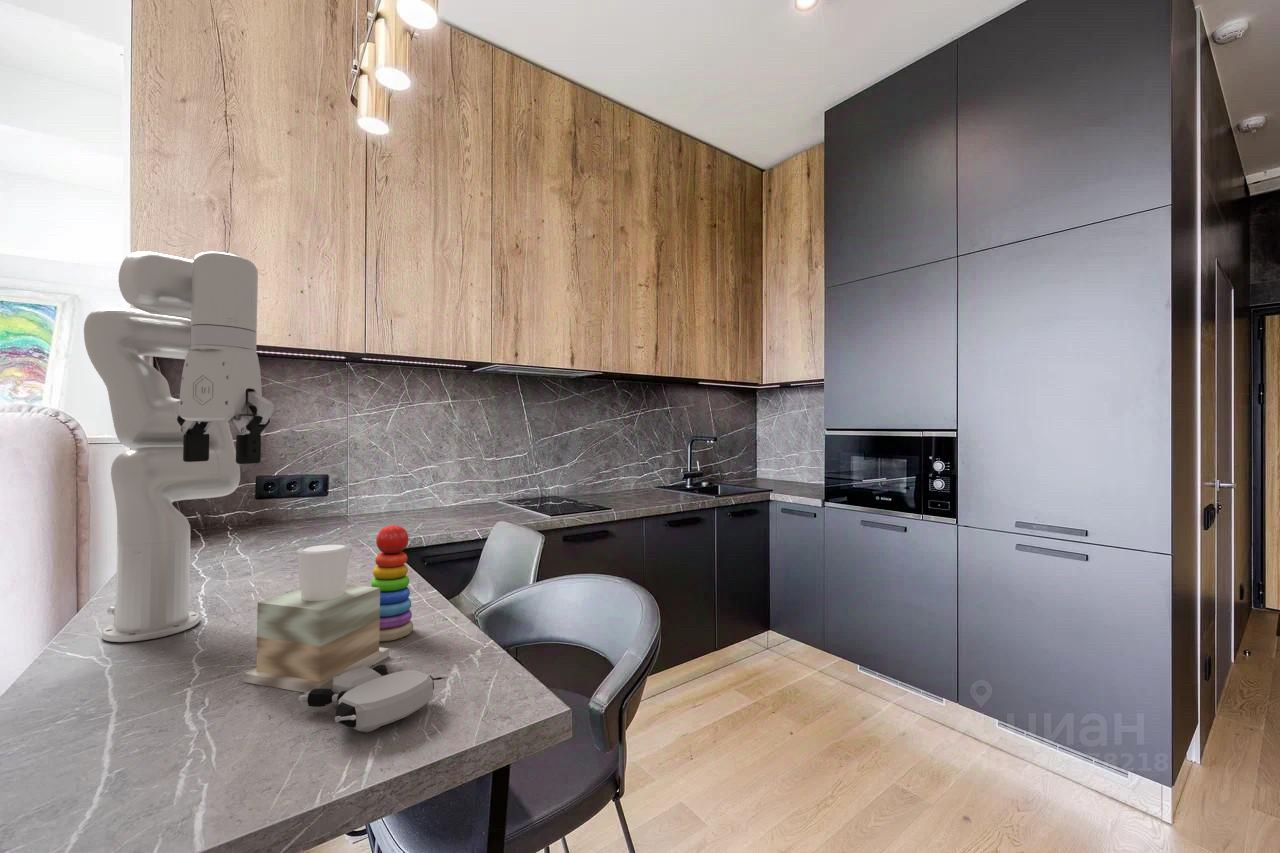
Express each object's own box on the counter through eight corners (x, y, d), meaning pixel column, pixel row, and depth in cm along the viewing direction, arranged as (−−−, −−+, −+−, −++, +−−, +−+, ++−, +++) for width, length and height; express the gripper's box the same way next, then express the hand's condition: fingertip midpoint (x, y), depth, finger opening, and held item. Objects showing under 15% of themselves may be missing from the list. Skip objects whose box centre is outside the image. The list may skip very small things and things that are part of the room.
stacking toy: (393, 645, 89) (395, 530, 89) (351, 641, 90) (353, 528, 91) (422, 628, 96) (424, 522, 97) (382, 624, 98) (384, 520, 98)
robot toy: (290, 723, 67) (357, 754, 59) (289, 685, 67) (356, 712, 59) (384, 685, 77) (452, 707, 69) (383, 652, 77) (451, 671, 69)
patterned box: (243, 681, 75) (245, 603, 75) (321, 646, 88) (322, 579, 88) (319, 695, 72) (321, 613, 72) (389, 656, 84) (390, 586, 85)
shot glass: (360, 592, 81) (360, 545, 82) (315, 605, 75) (316, 554, 75) (330, 586, 84) (331, 540, 85) (285, 597, 78) (286, 549, 78)
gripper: (150, 340, 76) (147, 462, 76) (246, 336, 72) (243, 465, 72) (205, 348, 84) (203, 459, 83) (295, 345, 79) (293, 462, 79)
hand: (221, 462), depth 78 cm, fingers open, 9 cm apart
